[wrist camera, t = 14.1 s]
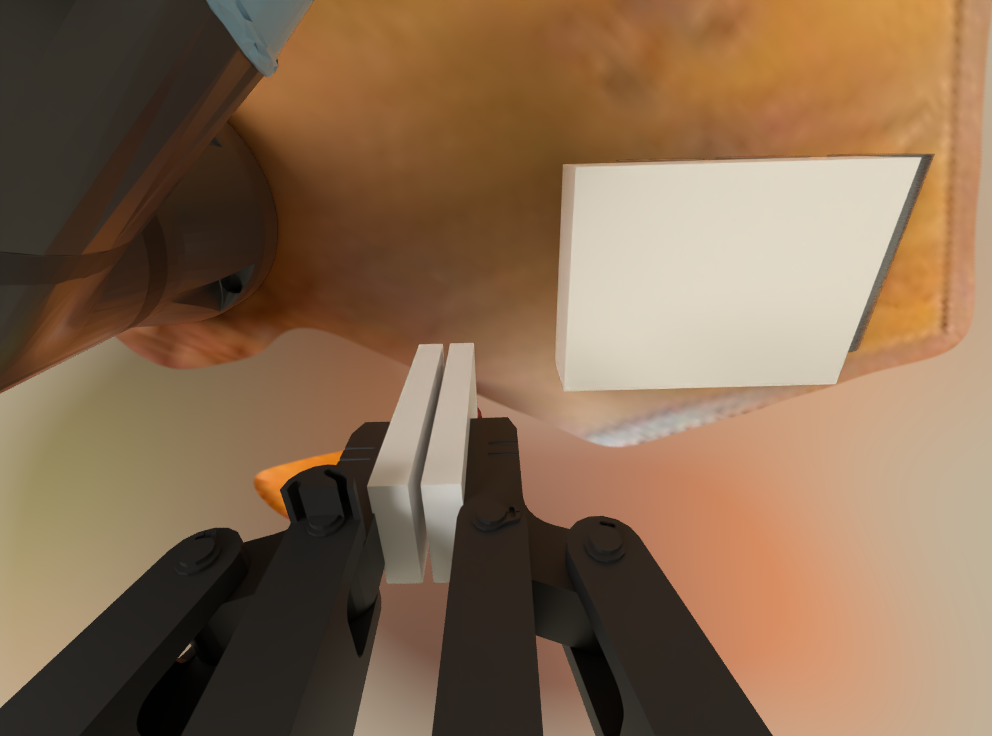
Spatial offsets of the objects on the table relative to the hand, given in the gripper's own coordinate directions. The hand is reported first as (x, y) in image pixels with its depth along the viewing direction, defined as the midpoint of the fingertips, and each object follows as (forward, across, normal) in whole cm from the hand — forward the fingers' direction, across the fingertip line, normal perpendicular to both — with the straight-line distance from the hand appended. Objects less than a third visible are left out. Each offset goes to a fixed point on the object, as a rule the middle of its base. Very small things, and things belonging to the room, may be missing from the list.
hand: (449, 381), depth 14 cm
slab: (+13, +14, 0) cm, 19 cm away
